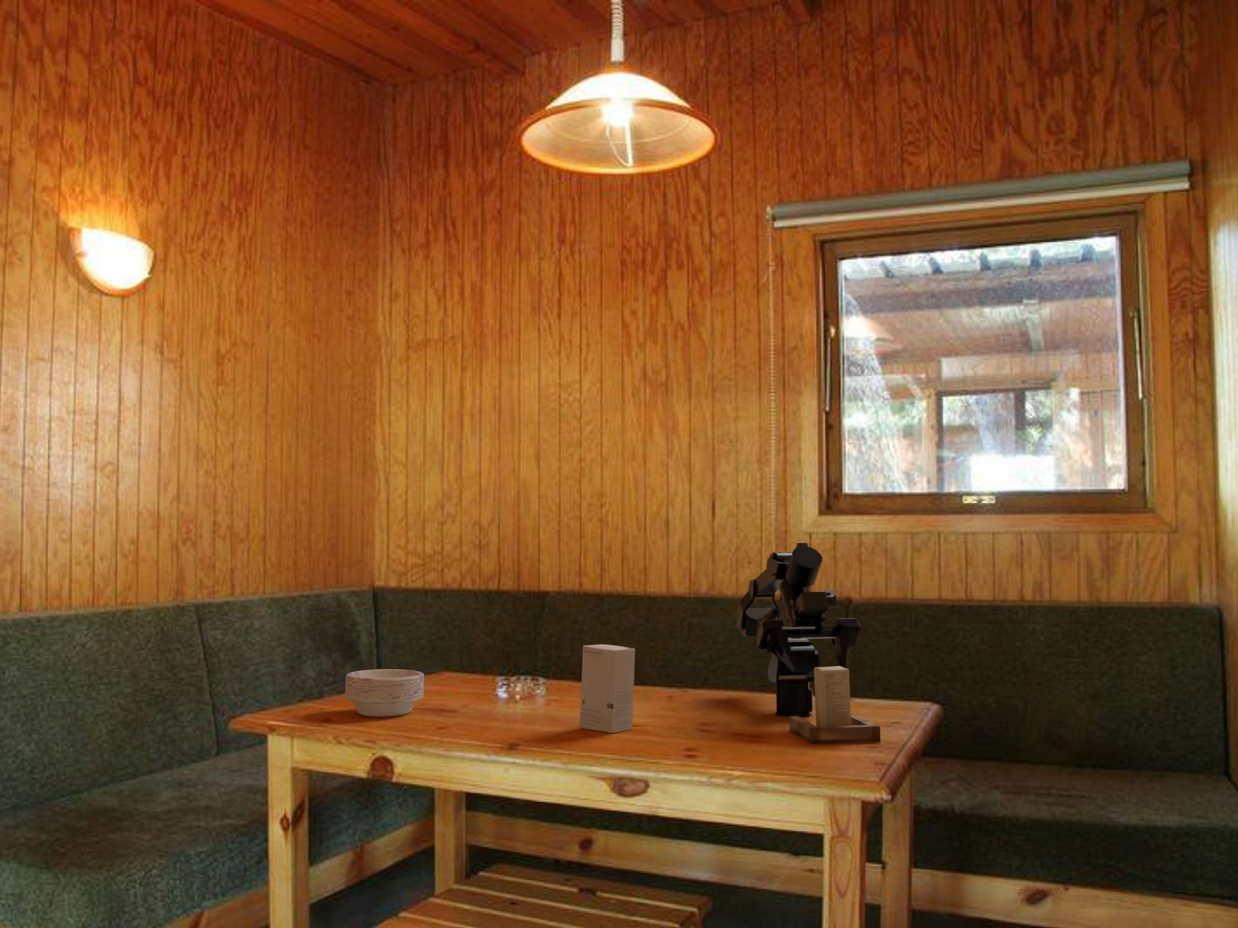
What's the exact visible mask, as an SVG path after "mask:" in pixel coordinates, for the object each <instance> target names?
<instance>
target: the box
mask: <svg viewBox="0 0 1238 928" xmlns="http://www.w3.org/2000/svg"><path fill="white" fill-rule="evenodd" d="M813 683H814V705H815V726H817V727H826V726H851V714H852V713H851V690H850V669H848V668H843V667H841V666H839V665H838V666H837V665H836V666H819V667H815V668H814V682H813Z"/></svg>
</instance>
